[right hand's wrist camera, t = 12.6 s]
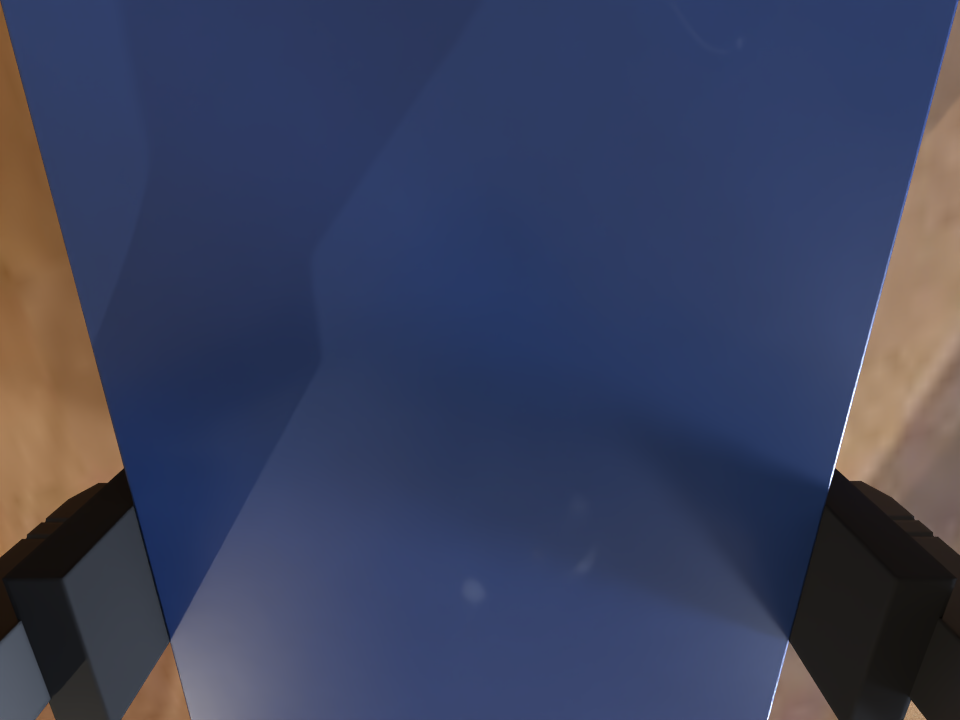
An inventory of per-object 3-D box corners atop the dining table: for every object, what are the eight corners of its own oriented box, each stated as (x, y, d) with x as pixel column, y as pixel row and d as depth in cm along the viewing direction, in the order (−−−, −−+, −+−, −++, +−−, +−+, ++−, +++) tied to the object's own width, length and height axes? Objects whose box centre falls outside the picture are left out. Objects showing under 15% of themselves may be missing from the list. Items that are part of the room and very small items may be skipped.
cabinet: (229, -222, 12) (-250, -924, 4) (729, -222, 12) (1206, -920, 4) (316, 483, 18) (193, 737, 10) (643, 482, 18) (765, 736, 10)
